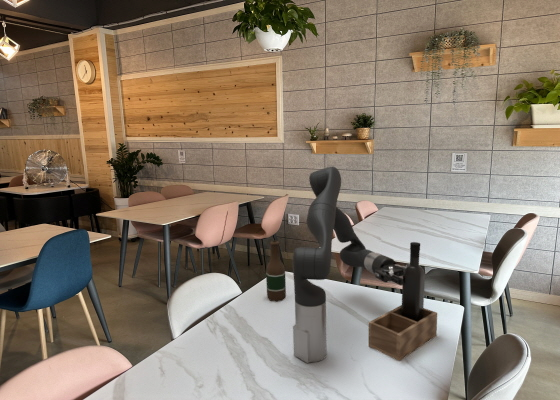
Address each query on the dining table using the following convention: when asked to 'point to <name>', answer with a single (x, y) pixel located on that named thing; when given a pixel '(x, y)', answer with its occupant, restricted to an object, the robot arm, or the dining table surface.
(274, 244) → the beer bottle
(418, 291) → the wine bottle
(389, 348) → the bottle rack
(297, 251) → the robot arm
